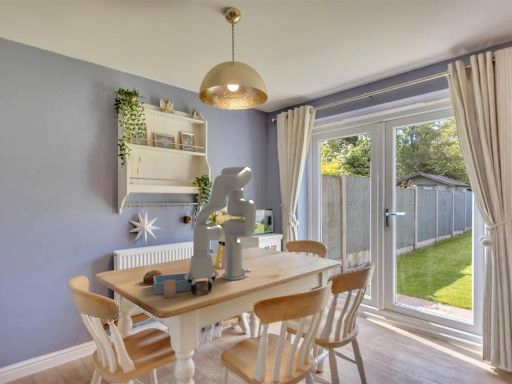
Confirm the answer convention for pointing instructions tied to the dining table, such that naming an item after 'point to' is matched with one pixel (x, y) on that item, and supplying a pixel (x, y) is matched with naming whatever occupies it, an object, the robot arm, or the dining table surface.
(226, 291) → the dining table surface
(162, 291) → the tote
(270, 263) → the dining table surface
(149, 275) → the bread roll
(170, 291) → the terracotta cylinder
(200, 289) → the walnut cube
